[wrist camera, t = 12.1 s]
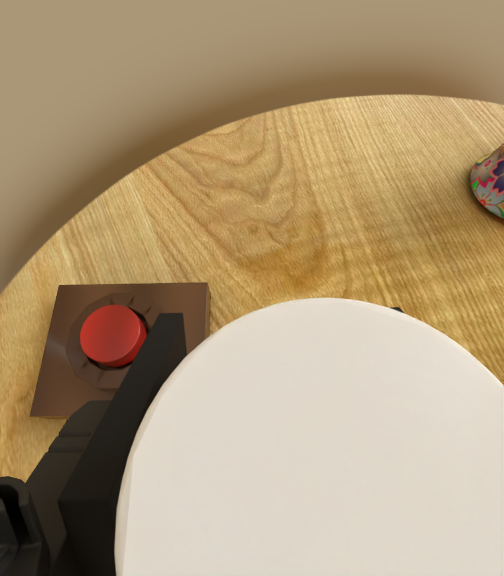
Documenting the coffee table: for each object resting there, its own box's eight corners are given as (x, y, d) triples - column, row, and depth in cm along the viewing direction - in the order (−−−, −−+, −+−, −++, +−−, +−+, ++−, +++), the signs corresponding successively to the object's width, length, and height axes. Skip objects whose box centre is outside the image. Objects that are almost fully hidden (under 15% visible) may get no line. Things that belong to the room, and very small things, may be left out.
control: (46, 418, 26) (12, 414, 23) (71, 295, 31) (46, 275, 27) (206, 415, 27) (198, 411, 23) (210, 292, 31) (204, 272, 27)
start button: (86, 368, 24) (74, 362, 23) (95, 313, 26) (84, 304, 24) (144, 366, 24) (136, 361, 23) (149, 312, 26) (142, 303, 24)
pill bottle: (341, 591, 12) (798, 1372, 2) (172, 527, 13) (-140, 834, 3) (372, 407, 14) (645, 319, 4) (227, 362, 15) (173, 198, 5)
